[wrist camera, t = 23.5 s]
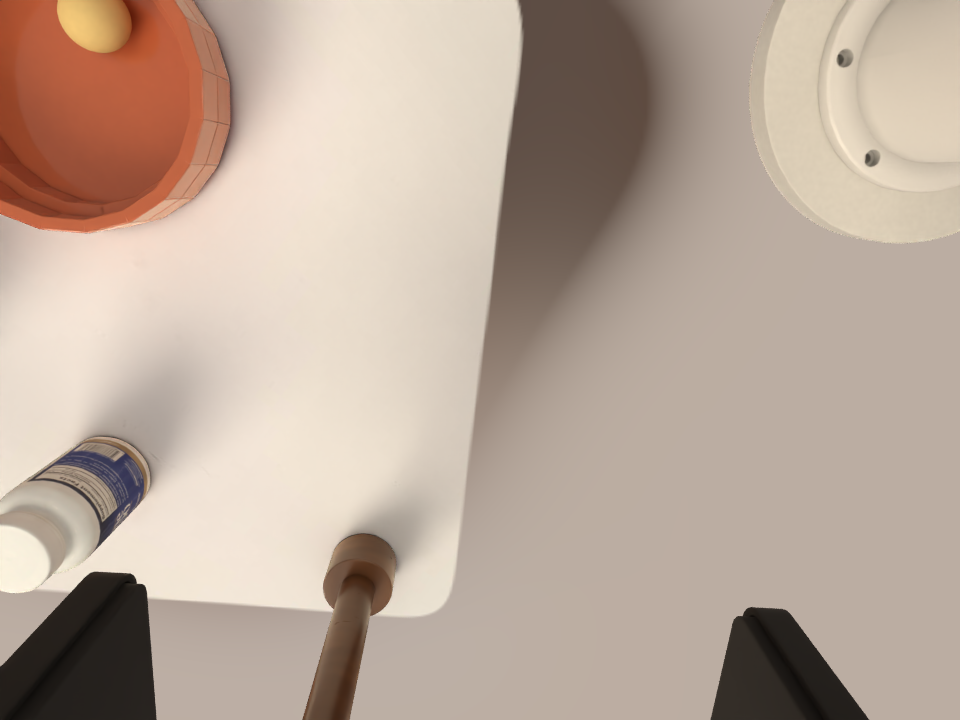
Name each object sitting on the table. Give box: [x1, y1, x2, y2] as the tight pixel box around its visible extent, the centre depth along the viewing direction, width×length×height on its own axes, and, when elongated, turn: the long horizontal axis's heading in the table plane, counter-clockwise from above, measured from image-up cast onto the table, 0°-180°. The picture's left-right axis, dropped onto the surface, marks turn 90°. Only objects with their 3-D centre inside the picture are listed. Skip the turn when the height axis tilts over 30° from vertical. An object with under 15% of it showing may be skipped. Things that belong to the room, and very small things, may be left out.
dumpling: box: [57, 0, 132, 53], centre depth 32 cm, size 3×3×3 cm
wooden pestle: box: [303, 534, 396, 720], centre depth 36 cm, size 4×4×16 cm
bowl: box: [0, 0, 230, 233], centre depth 33 cm, size 14×14×4 cm
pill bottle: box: [0, 437, 150, 593], centre depth 36 cm, size 5×5×10 cm
